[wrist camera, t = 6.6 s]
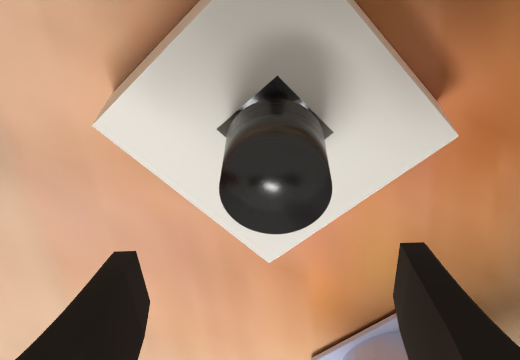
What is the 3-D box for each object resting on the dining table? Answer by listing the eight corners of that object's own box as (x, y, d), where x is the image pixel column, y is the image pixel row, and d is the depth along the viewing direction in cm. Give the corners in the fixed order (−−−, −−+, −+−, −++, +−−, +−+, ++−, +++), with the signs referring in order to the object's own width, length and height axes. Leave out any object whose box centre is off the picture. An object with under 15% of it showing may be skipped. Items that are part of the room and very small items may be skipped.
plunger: (333, 100, 21) (355, 193, 15) (272, 149, 22) (272, 250, 17) (277, 41, 20) (278, 120, 14) (215, 97, 21) (195, 189, 15)
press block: (437, 101, 21) (459, 136, 19) (269, 222, 25) (269, 263, 23) (282, -87, 17) (283, -75, 15) (112, 92, 21) (91, 125, 19)
